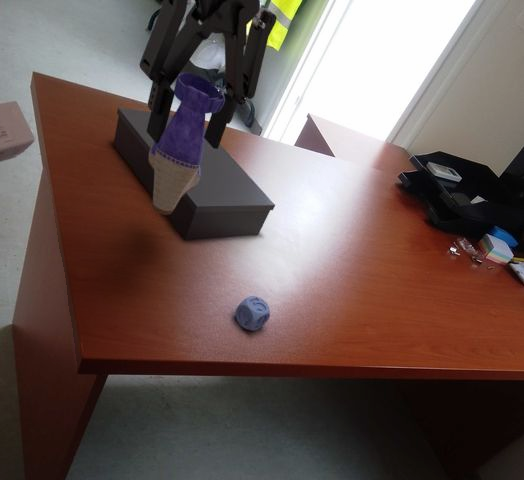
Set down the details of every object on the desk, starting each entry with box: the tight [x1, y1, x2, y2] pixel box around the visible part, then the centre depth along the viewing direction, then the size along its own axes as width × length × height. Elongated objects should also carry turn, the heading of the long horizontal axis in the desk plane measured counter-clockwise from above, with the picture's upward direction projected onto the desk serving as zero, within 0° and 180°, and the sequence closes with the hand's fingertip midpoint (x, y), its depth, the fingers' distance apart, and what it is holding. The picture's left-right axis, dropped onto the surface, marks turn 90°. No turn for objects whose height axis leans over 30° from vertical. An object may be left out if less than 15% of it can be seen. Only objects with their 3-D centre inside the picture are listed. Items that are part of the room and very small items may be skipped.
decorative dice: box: [235, 295, 271, 332], centre depth 73 cm, size 4×4×4 cm
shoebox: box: [112, 107, 276, 241], centre depth 91 cm, size 31×19×7 cm, turn 39°
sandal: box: [148, 71, 225, 216], centre depth 59 cm, size 8×20×15 cm, turn 175°
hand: (183, 140), depth 61 cm, fingers open, 8 cm apart
